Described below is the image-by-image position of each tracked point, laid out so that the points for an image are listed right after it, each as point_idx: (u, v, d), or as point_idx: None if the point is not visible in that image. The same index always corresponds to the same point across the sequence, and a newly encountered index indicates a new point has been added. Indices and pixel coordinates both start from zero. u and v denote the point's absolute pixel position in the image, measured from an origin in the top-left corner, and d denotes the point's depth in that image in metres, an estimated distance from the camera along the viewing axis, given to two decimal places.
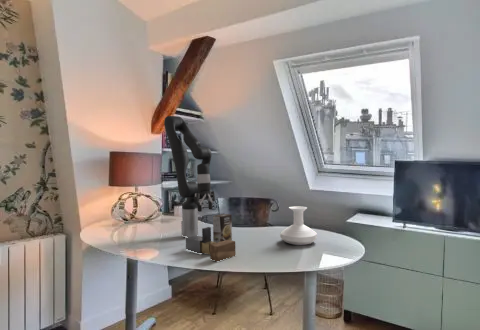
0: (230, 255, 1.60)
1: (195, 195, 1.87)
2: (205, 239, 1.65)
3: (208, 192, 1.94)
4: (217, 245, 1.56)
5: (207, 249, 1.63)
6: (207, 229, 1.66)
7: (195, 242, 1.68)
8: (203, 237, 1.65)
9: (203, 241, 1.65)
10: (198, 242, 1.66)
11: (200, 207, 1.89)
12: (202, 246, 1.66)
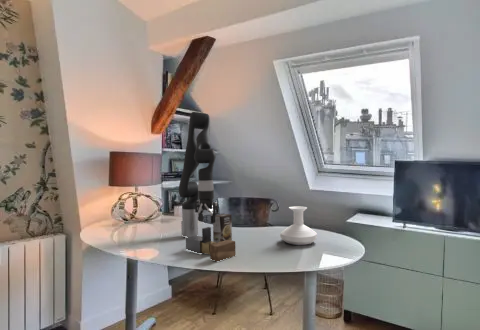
0: (230, 255, 1.60)
1: (215, 204, 1.62)
2: (205, 239, 1.65)
3: None
4: (217, 245, 1.56)
5: (207, 249, 1.63)
6: (207, 229, 1.66)
7: (195, 242, 1.68)
8: (203, 237, 1.65)
9: (203, 241, 1.65)
10: (198, 242, 1.66)
11: None
12: (202, 246, 1.66)
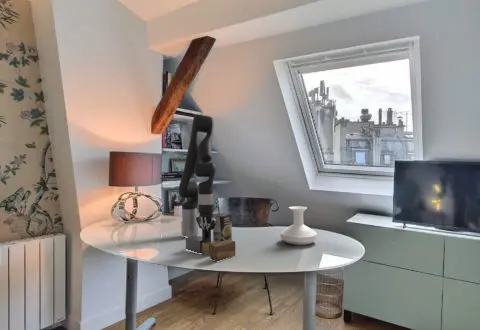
0: (230, 255, 1.60)
1: (214, 222, 1.63)
2: (205, 239, 1.65)
3: None
4: (217, 245, 1.56)
5: (207, 249, 1.63)
6: None
7: (195, 242, 1.68)
8: (203, 237, 1.65)
9: (203, 241, 1.65)
10: (198, 242, 1.66)
11: None
12: (202, 246, 1.66)
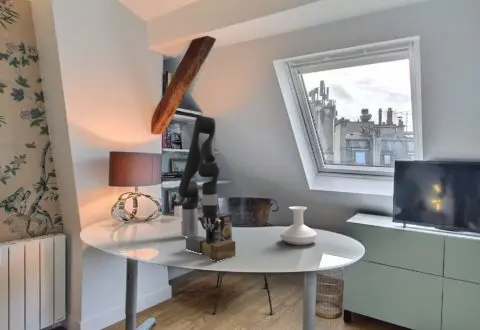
0: (230, 255, 1.60)
1: (218, 223, 1.61)
2: (209, 240, 1.64)
3: None
4: (217, 245, 1.56)
5: None
6: None
7: (195, 242, 1.68)
8: (207, 238, 1.64)
9: (207, 242, 1.64)
10: (198, 242, 1.66)
11: None
12: (206, 247, 1.64)
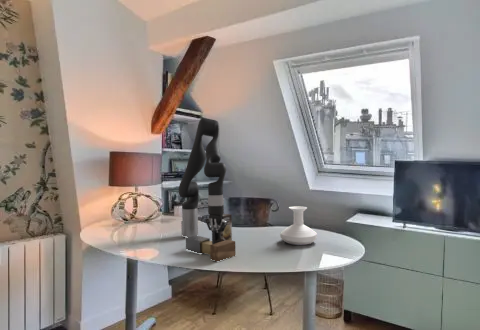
0: (230, 255, 1.60)
1: (224, 224, 1.58)
2: (215, 241, 1.61)
3: None
4: (217, 245, 1.56)
5: None
6: None
7: (195, 242, 1.68)
8: (213, 239, 1.61)
9: (213, 243, 1.61)
10: (198, 242, 1.66)
11: None
12: None
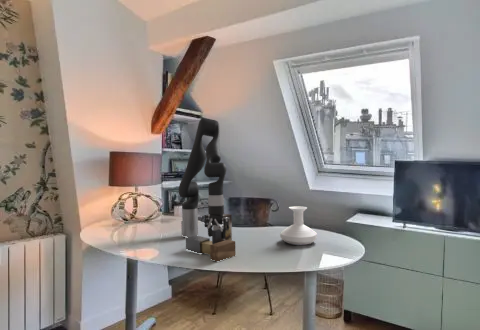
0: (230, 255, 1.60)
1: (226, 220, 1.57)
2: (215, 241, 1.61)
3: None
4: (217, 245, 1.56)
5: None
6: (217, 231, 1.62)
7: (195, 242, 1.68)
8: (213, 239, 1.61)
9: (213, 243, 1.61)
10: (198, 242, 1.66)
11: None
12: None
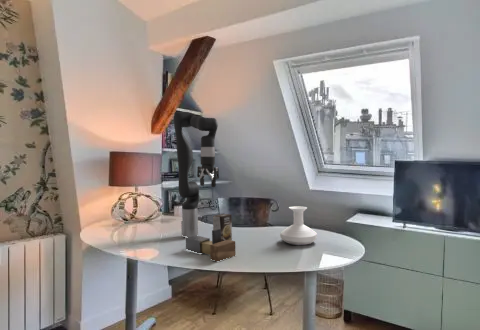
0: (230, 255, 1.60)
1: (216, 169, 1.73)
2: (215, 241, 1.61)
3: None
4: (217, 245, 1.56)
5: None
6: (217, 231, 1.62)
7: (195, 242, 1.68)
8: (213, 239, 1.61)
9: (213, 243, 1.61)
10: (198, 242, 1.66)
11: None
12: None
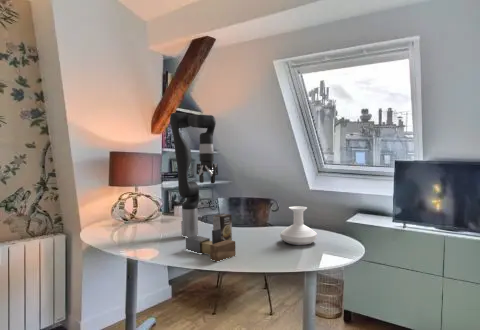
0: (230, 255, 1.60)
1: (215, 165, 1.75)
2: (215, 241, 1.61)
3: None
4: (217, 245, 1.56)
5: None
6: (217, 231, 1.62)
7: (195, 242, 1.68)
8: (213, 239, 1.61)
9: (213, 243, 1.61)
10: (198, 242, 1.66)
11: None
12: None
